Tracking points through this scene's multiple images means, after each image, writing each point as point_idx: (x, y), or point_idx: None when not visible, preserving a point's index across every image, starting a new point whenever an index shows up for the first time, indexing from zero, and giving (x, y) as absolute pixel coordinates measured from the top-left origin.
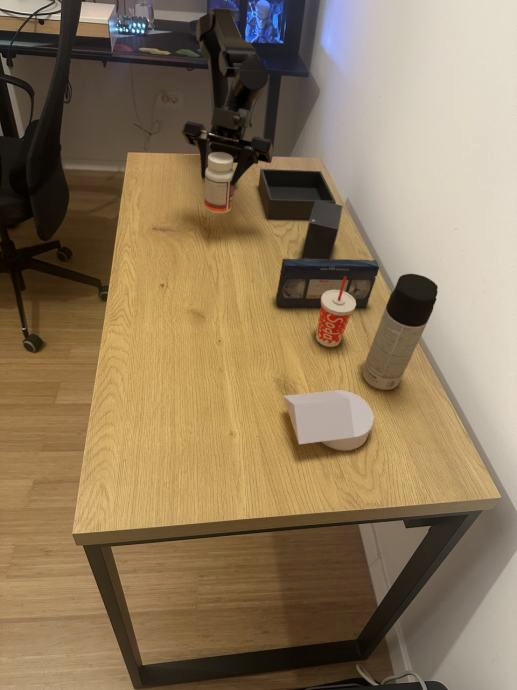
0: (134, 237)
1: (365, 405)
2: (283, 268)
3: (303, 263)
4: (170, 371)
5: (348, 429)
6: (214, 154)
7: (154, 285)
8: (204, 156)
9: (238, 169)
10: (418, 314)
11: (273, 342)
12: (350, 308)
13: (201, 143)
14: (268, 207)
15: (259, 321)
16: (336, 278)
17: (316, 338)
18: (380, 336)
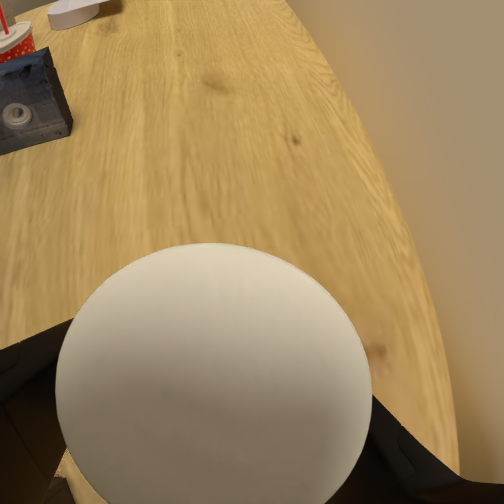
0: (408, 297)
1: (50, 10)
2: (49, 59)
3: (11, 63)
4: (237, 27)
5: None
6: (310, 460)
7: (310, 140)
8: (392, 449)
9: (37, 345)
10: None
11: (102, 64)
12: (2, 32)
13: (491, 496)
14: (54, 496)
15: (112, 88)
16: None
17: None
18: (9, 2)
